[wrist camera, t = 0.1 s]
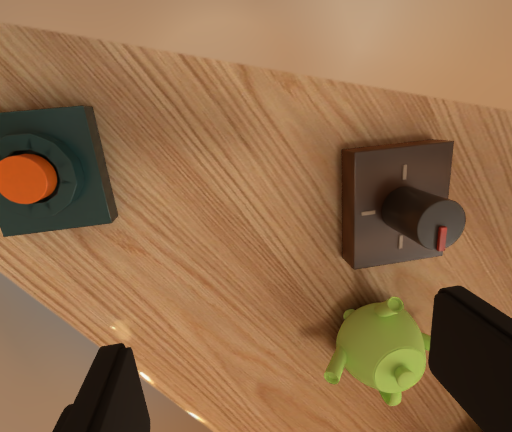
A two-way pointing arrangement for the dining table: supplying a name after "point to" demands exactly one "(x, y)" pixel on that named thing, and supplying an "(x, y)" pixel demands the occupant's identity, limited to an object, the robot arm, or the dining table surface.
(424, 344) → the teapot
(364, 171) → the dial panel
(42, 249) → the dining table surface
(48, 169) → the orange push button
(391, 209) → the dial
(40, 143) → the button housing
